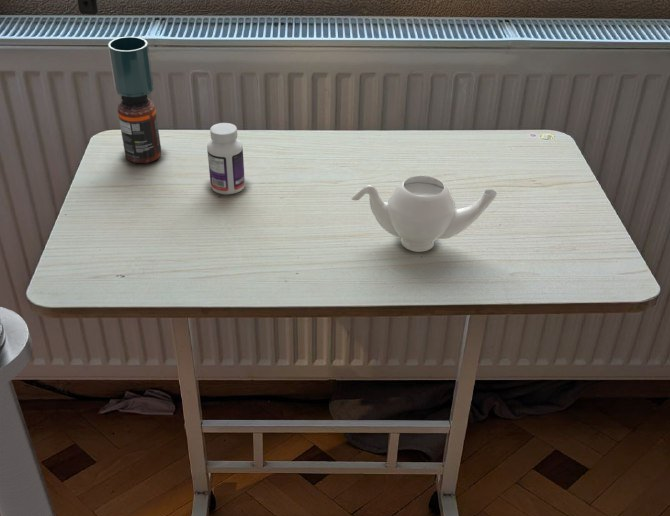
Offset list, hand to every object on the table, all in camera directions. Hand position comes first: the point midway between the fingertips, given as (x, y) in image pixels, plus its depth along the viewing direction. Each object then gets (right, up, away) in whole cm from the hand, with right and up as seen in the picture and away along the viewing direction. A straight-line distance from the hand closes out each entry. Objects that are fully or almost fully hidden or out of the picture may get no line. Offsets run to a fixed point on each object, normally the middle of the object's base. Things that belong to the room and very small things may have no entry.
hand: (96, 1), depth 103 cm
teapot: (+42, -27, +18) cm, 53 cm away
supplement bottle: (-2, -9, +35) cm, 36 cm away
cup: (-2, -1, +27) cm, 27 cm away
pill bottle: (+13, -16, +29) cm, 35 cm away
